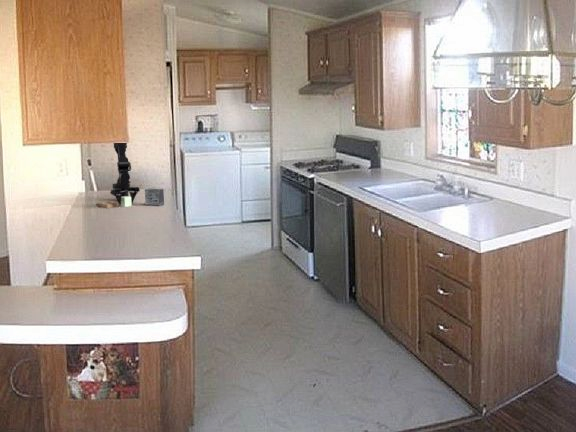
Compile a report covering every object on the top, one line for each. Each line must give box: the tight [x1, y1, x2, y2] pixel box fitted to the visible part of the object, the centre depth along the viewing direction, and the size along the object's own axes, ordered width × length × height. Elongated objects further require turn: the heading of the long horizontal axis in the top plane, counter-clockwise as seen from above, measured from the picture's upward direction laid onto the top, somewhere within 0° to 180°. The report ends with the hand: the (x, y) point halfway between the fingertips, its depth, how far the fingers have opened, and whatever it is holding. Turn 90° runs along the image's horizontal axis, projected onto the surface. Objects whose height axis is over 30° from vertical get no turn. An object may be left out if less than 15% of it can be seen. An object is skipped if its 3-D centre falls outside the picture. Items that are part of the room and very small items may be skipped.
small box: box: [144, 188, 165, 207], centre depth 434 cm, size 11×6×10 cm, turn 71°
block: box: [119, 195, 133, 208], centre depth 434 cm, size 5×5×6 cm
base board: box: [95, 200, 121, 209], centre depth 435 cm, size 12×12×2 cm
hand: (125, 204), depth 434 cm, fingers open, 9 cm apart
